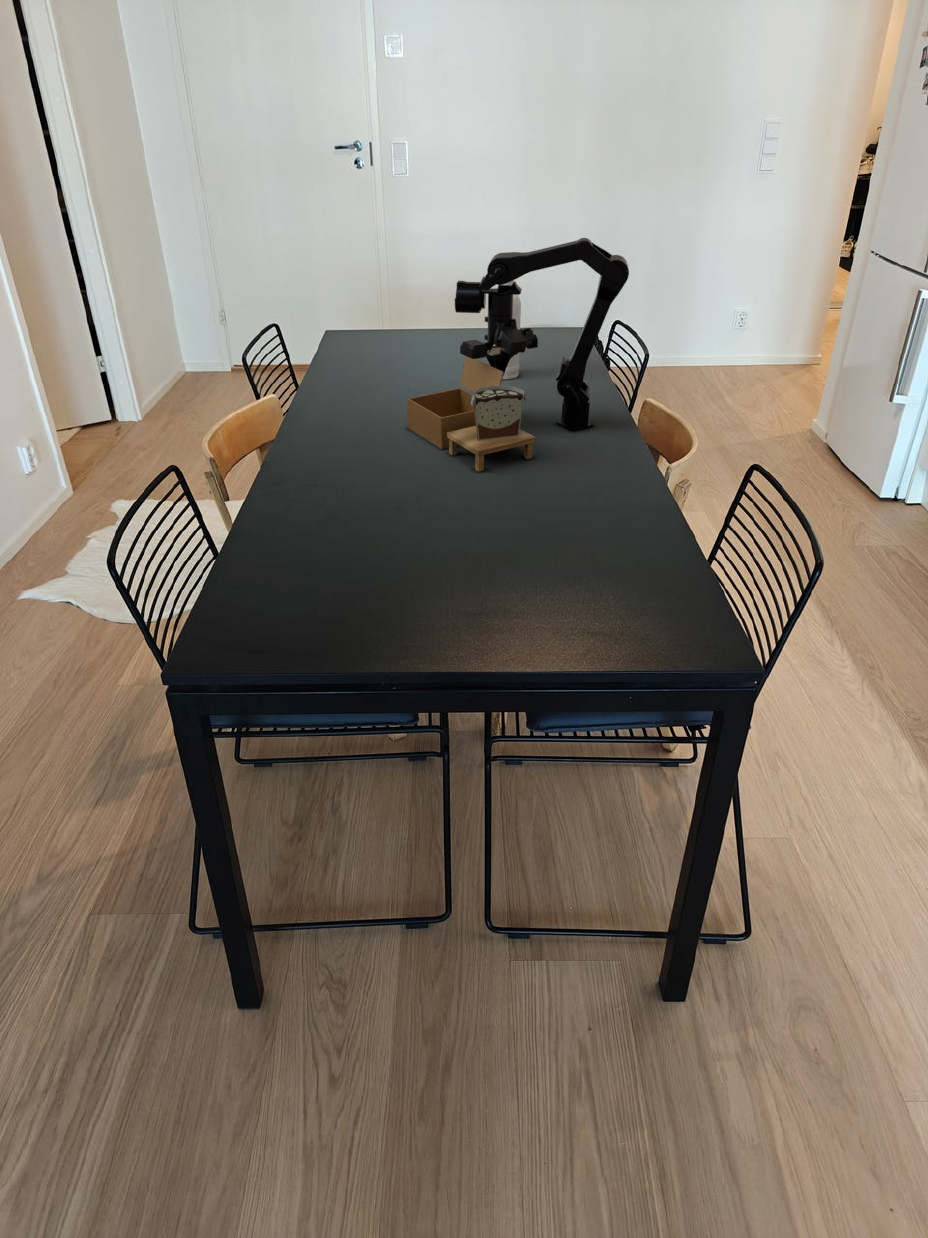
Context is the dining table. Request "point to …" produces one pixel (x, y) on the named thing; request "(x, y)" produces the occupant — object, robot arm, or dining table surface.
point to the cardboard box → (440, 415)
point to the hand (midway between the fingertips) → (499, 380)
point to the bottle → (513, 364)
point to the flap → (479, 375)
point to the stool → (487, 444)
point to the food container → (498, 411)
